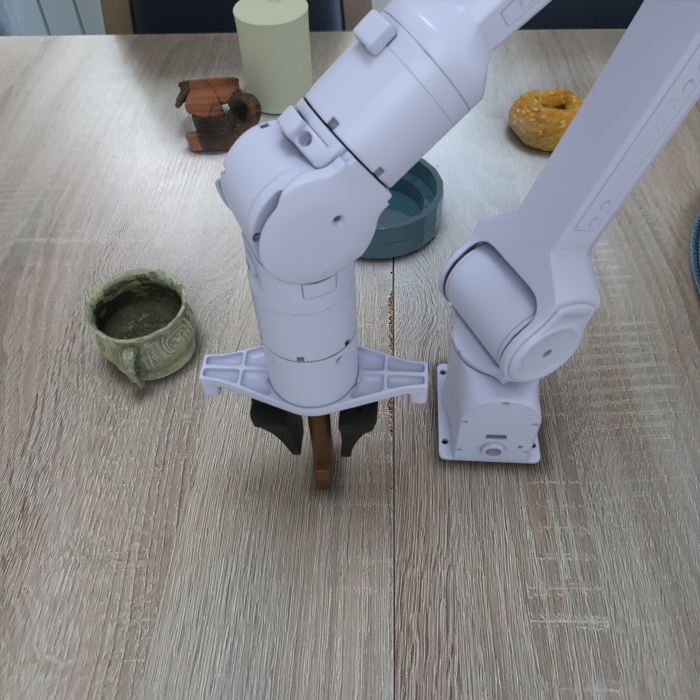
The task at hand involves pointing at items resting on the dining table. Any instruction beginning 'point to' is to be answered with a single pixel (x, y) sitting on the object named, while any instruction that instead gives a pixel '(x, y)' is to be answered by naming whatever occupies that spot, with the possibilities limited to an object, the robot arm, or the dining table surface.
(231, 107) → the pottery mug
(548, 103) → the bagel
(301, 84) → the can
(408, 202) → the bowl
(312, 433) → the stirring stick
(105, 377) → the dining table surface
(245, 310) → the dining table surface
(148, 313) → the vessel
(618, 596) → the dining table surface
